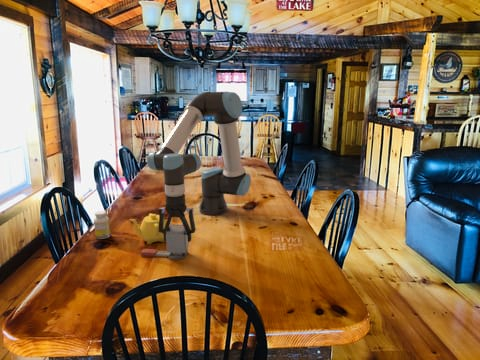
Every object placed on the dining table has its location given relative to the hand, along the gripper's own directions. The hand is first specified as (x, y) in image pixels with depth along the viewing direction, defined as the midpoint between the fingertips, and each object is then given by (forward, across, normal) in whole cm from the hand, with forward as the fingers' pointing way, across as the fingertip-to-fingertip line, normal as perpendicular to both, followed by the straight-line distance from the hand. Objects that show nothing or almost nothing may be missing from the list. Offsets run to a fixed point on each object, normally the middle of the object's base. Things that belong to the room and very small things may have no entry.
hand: (178, 248), depth 151 cm
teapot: (+3, -16, +14) cm, 22 cm away
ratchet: (+3, -6, 0) cm, 7 cm away
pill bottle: (+3, -39, +17) cm, 43 cm away
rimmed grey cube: (0, 0, 0) cm, 0 cm away
